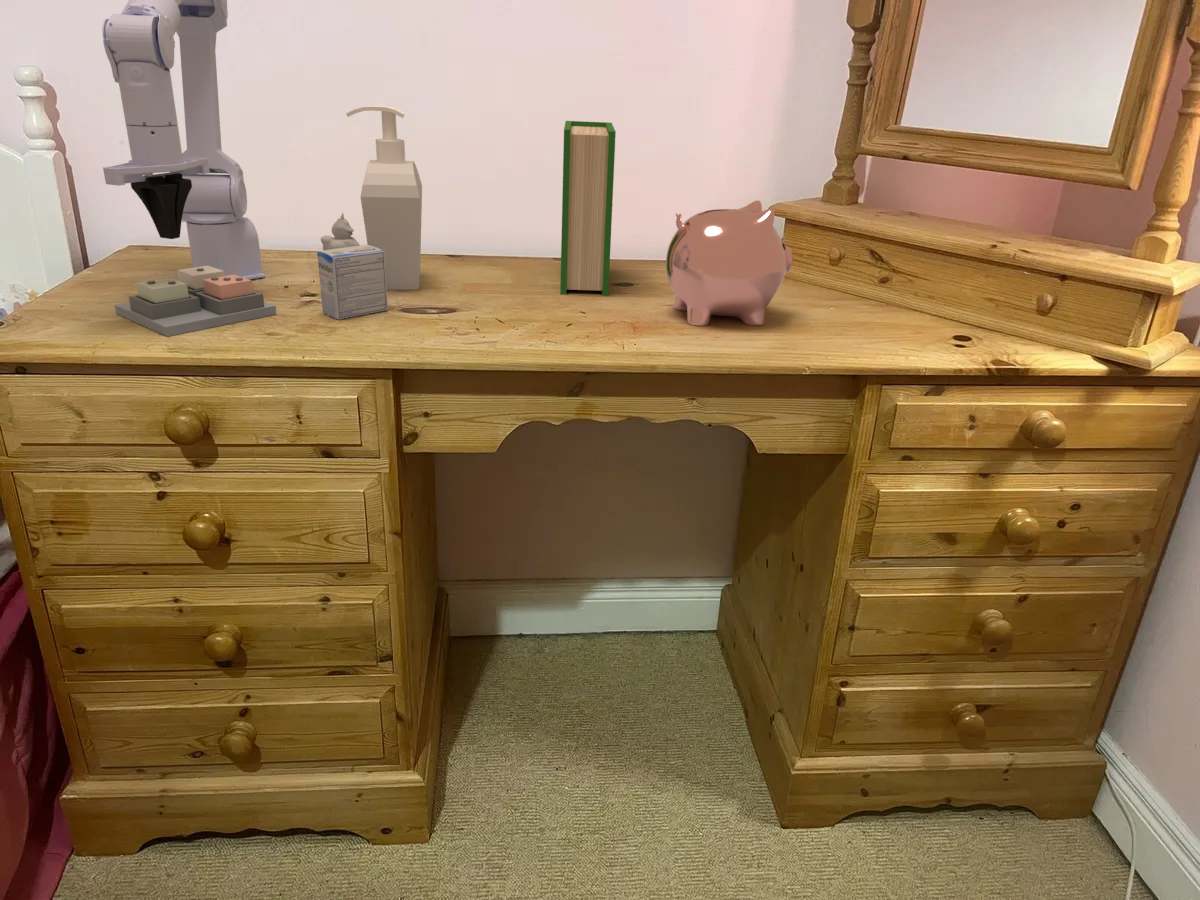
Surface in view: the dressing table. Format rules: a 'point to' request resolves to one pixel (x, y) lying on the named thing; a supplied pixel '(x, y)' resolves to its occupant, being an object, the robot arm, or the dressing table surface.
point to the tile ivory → (198, 275)
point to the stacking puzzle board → (194, 311)
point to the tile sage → (162, 290)
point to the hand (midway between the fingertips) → (170, 237)
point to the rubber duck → (339, 236)
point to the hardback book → (587, 205)
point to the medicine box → (352, 281)
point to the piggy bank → (727, 264)
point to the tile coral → (227, 286)
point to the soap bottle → (393, 204)
